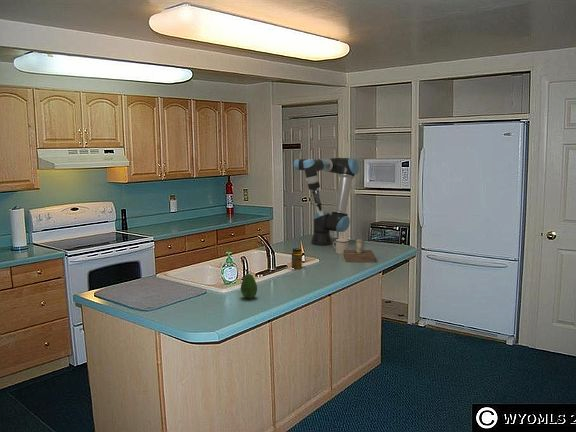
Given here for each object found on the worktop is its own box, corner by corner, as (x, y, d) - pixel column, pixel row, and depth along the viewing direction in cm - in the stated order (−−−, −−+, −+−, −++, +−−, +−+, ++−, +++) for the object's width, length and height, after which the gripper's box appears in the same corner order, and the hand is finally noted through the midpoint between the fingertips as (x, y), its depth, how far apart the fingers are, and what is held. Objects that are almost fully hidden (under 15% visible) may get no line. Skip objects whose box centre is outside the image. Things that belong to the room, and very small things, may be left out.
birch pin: (355, 258, 333) (356, 239, 331) (361, 258, 333) (361, 239, 331) (356, 260, 329) (356, 240, 327) (361, 260, 329) (362, 240, 327)
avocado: (248, 294, 255) (248, 271, 253) (260, 297, 250) (260, 273, 248) (237, 298, 249) (237, 274, 247) (249, 301, 244) (248, 277, 242)
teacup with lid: (351, 253, 350) (351, 236, 348) (343, 255, 343) (344, 238, 341) (336, 250, 358) (337, 233, 356) (329, 252, 351) (329, 235, 349)
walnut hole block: (343, 256, 339) (343, 249, 339) (370, 256, 339) (371, 249, 339) (346, 262, 324) (346, 255, 323) (374, 262, 323) (374, 255, 323)
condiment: (304, 269, 306) (304, 249, 304) (292, 271, 302) (293, 250, 300) (297, 266, 312) (297, 247, 310) (286, 268, 308) (286, 248, 306)
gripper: (306, 182, 349) (313, 212, 353) (309, 185, 325) (316, 218, 328) (317, 179, 349) (323, 209, 353) (320, 182, 325) (328, 215, 328)
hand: (320, 213), depth 340 cm, fingers open, 13 cm apart
